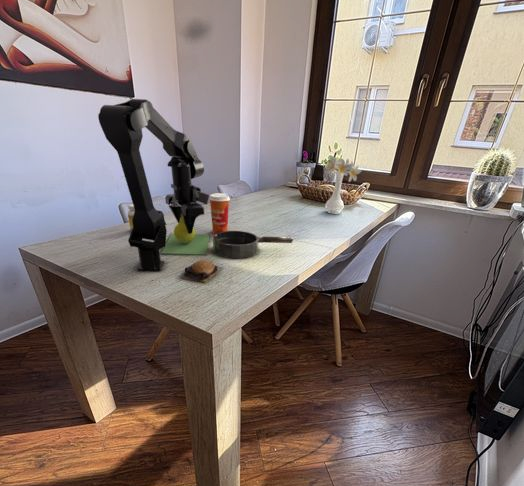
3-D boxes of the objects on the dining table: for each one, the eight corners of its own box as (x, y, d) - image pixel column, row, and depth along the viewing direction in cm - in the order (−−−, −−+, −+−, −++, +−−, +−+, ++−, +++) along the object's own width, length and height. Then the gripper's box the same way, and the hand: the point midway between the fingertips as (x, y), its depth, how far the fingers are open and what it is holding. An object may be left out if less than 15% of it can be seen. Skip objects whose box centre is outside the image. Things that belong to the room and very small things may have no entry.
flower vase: (342, 218, 149) (354, 161, 136) (312, 210, 160) (320, 156, 147) (357, 214, 157) (369, 160, 144) (327, 207, 168) (336, 155, 155)
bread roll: (197, 264, 95) (196, 253, 93) (222, 269, 93) (222, 257, 91) (178, 278, 86) (177, 265, 84) (205, 283, 84) (205, 270, 82)
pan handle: (256, 243, 104) (256, 237, 103) (255, 241, 106) (255, 235, 105) (293, 244, 106) (293, 238, 105) (292, 242, 107) (292, 236, 106)
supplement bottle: (143, 228, 121) (139, 202, 116) (147, 232, 117) (143, 206, 112) (129, 230, 118) (124, 204, 113) (132, 234, 115) (128, 207, 110)
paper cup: (206, 233, 120) (204, 195, 113) (217, 228, 126) (216, 192, 118) (223, 237, 117) (222, 198, 110) (233, 232, 123) (234, 195, 116)
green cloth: (205, 255, 101) (205, 254, 101) (161, 254, 100) (161, 253, 100) (209, 235, 118) (209, 234, 118) (171, 234, 117) (171, 233, 116)
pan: (259, 259, 101) (259, 246, 98) (212, 258, 99) (211, 244, 97) (256, 243, 113) (257, 231, 111) (214, 242, 112) (214, 230, 110)
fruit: (171, 242, 108) (168, 205, 103) (188, 240, 112) (187, 205, 107) (180, 245, 103) (178, 207, 98) (198, 243, 107) (197, 207, 103)
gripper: (218, 185, 95) (219, 235, 104) (193, 175, 108) (196, 220, 117) (184, 187, 90) (188, 239, 98) (162, 177, 102) (167, 224, 111)
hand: (186, 230), depth 106 cm, fingers closed on fruit, 7 cm apart
